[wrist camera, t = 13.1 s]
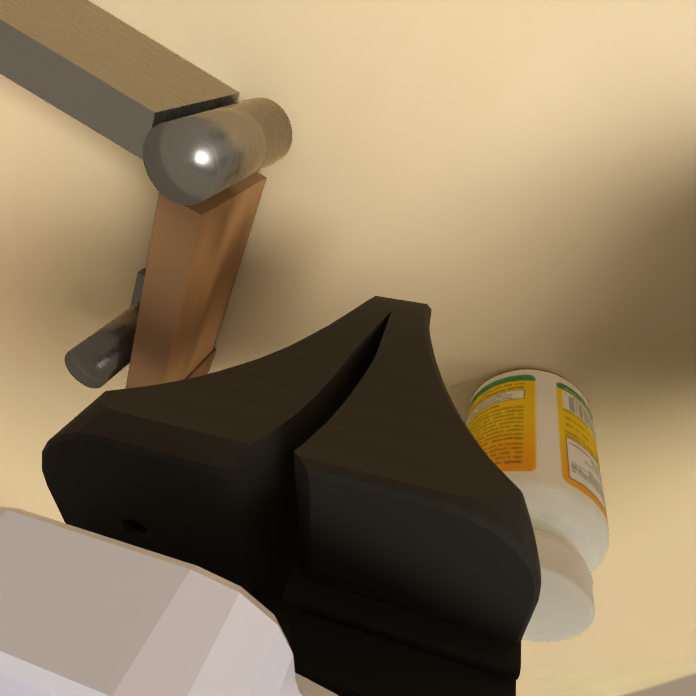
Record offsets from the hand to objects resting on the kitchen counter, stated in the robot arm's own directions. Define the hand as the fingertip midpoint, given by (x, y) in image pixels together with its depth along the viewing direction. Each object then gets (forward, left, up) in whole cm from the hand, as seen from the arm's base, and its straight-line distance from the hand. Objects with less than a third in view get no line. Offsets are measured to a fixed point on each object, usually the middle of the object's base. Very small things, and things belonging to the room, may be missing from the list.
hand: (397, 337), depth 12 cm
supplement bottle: (-8, +6, -10) cm, 14 cm away
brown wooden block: (+8, +8, -9) cm, 15 cm away
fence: (+13, +1, -9) cm, 16 cm away
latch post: (+10, +12, -9) cm, 18 cm away
